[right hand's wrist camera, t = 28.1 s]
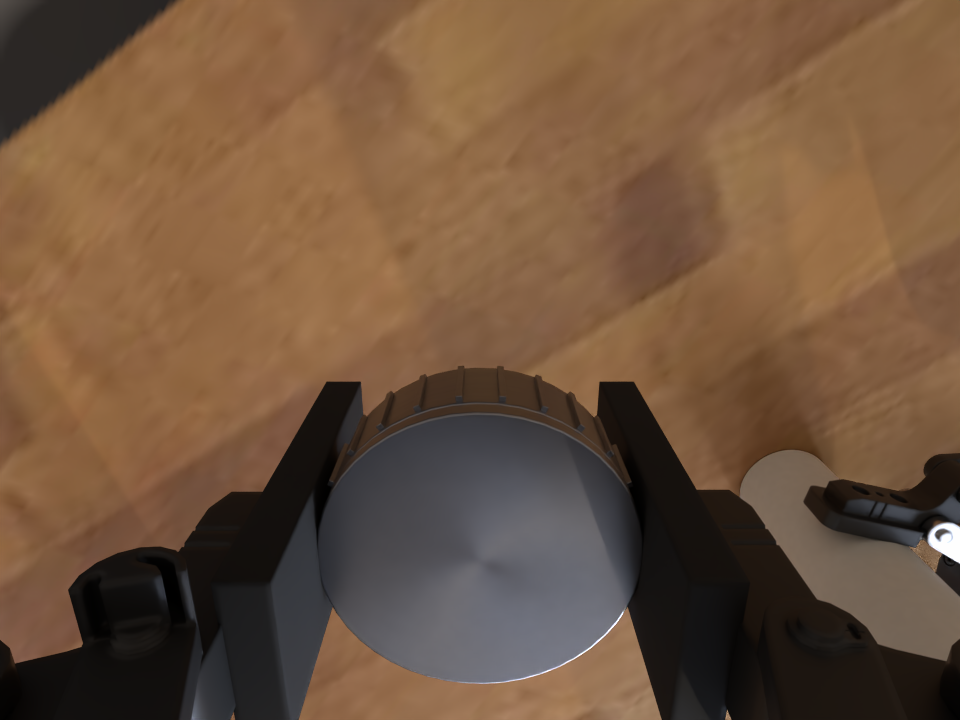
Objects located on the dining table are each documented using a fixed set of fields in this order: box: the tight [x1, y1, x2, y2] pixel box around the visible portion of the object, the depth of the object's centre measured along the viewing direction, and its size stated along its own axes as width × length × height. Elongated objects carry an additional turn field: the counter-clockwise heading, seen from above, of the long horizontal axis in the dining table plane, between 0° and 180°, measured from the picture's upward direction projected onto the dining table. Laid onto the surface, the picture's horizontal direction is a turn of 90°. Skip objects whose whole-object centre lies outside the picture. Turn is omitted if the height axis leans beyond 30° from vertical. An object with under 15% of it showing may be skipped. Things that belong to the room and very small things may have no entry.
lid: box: [317, 366, 643, 684], centre depth 11 cm, size 6×6×2 cm
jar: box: [740, 450, 960, 661], centre depth 24 cm, size 4×4×18 cm
